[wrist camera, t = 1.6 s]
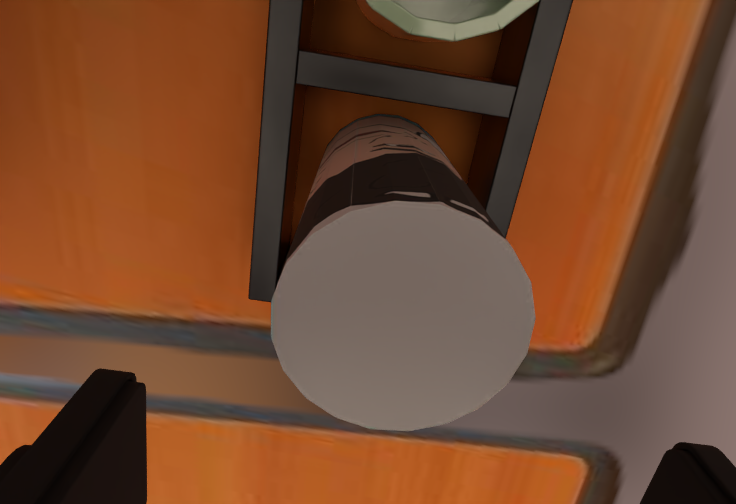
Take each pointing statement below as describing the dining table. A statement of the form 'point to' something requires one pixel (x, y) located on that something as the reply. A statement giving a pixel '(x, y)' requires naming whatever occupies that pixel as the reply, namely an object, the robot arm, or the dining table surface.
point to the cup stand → (404, 83)
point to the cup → (398, 286)
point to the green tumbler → (442, 17)
